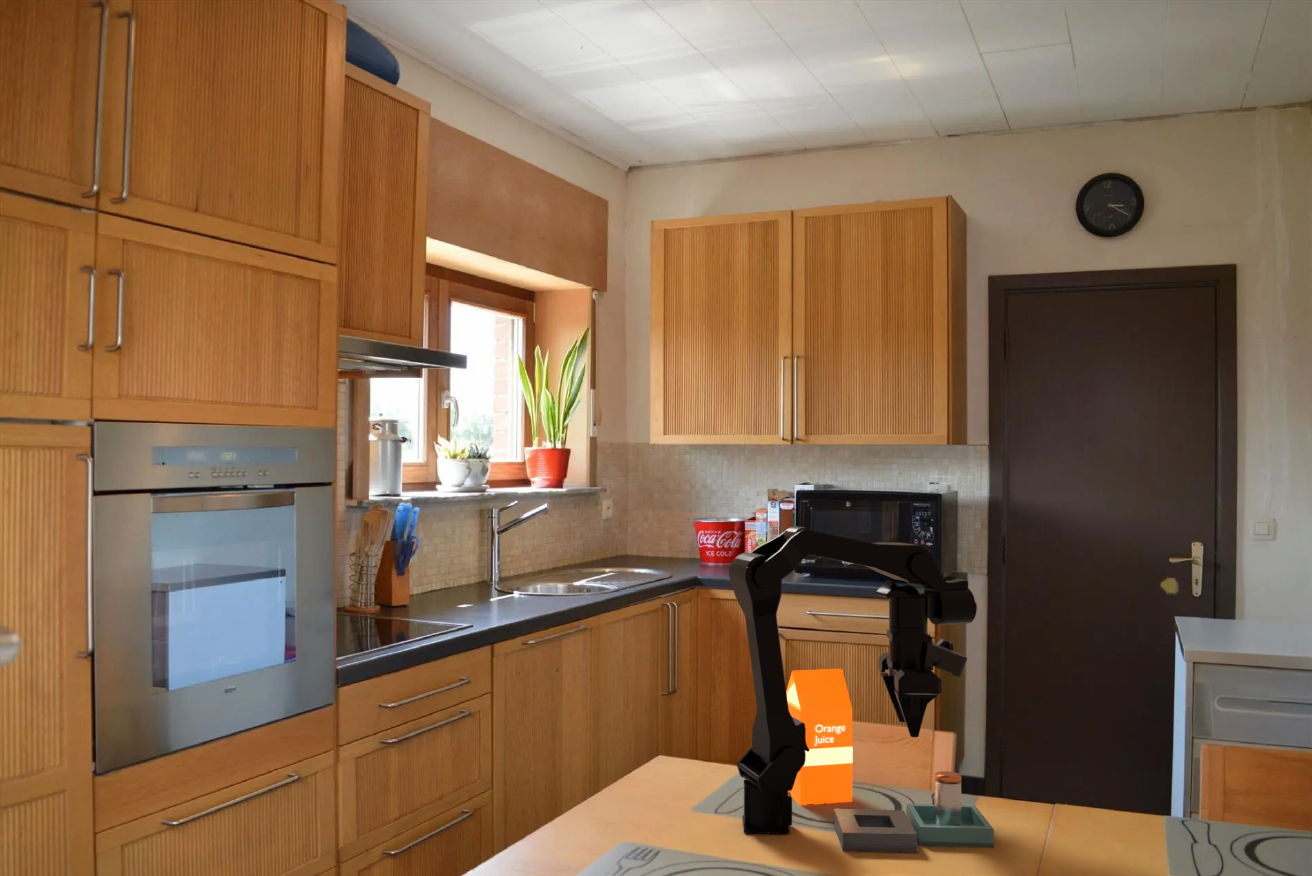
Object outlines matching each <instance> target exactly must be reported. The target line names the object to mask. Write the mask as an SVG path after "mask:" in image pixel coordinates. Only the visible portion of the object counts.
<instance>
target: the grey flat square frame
mask: <svg viewBox="0 0 1312 876" xmlns="http://www.w3.org/2000/svg"><path fill="white" fill-rule="evenodd" d="M833 826H834V829H835V833H836V836H837V838H838V841H839V844H840V847H841V849H842V852H865V853H866V852H867V853H900V854H901V853H904V854H918V840H917V833H916V831H915V830H914V828H913V826H912V824H911V823H910V821H909V819H908V817H907V813H906V812H905V811H904V810H903V809H902V810H900V809H898V810H897V809H863V808H861V809H857V808H854V809H853V808H833Z"/></svg>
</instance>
